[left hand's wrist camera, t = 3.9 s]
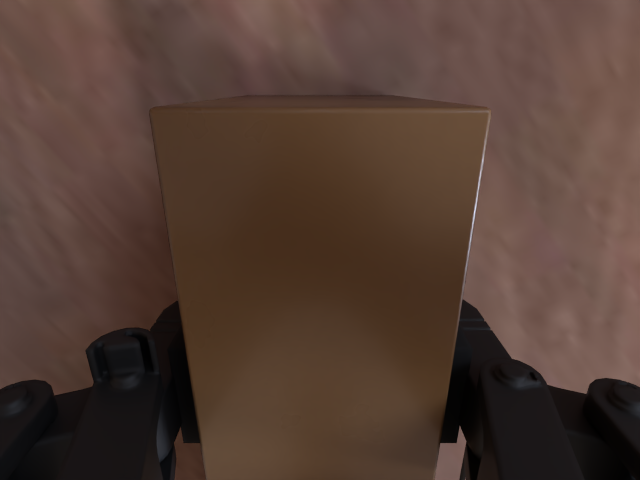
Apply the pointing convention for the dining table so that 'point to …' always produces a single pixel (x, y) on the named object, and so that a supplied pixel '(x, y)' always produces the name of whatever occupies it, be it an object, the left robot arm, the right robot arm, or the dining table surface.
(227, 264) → the beam
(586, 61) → the dining table surface
